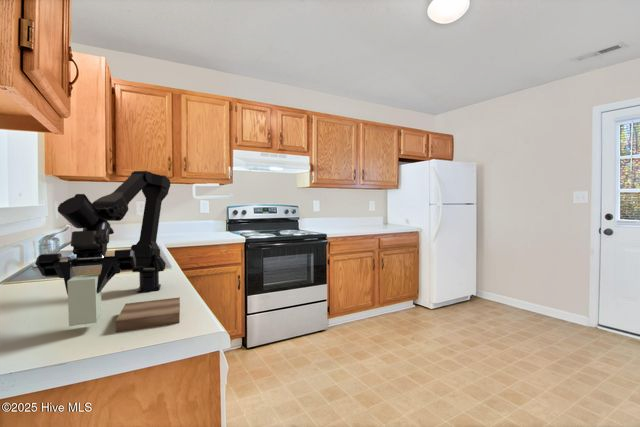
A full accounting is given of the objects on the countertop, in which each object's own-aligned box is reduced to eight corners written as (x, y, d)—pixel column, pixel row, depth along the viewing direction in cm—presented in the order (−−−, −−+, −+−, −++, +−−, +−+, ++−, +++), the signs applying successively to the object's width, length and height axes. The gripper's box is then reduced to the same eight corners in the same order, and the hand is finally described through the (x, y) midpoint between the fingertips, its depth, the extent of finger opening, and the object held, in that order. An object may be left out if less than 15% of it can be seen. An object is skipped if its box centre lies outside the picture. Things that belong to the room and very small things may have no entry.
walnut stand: (125, 313, 81) (125, 303, 81) (179, 306, 87) (179, 297, 87) (116, 332, 69) (115, 321, 69) (179, 322, 75) (179, 312, 75)
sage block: (76, 318, 72) (74, 275, 72) (101, 315, 74) (100, 273, 74) (69, 326, 68) (67, 281, 67) (96, 322, 70) (95, 278, 69)
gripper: (37, 218, 70) (15, 278, 60) (133, 217, 77) (127, 269, 68) (51, 248, 77) (34, 306, 68) (138, 244, 85) (133, 295, 75)
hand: (83, 293), depth 69 cm, fingers closed on sage block, 5 cm apart
